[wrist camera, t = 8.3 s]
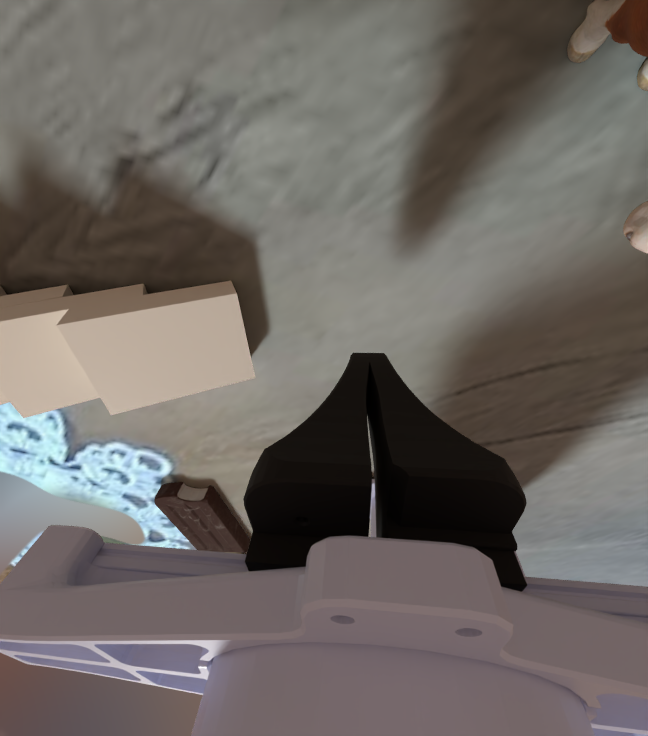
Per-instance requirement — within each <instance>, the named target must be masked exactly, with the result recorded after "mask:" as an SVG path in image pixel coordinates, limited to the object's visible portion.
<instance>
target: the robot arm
mask: <svg viewBox="0 0 648 736" xmlns="http://www.w3.org/2000/svg"><path fill="white" fill-rule="evenodd" d="M367 415H368V423H369V430H370V438H371V445H372V453H373V461H374V476H375V479H372V471H371V459H370V449H369V439H368V426H367ZM244 506H245V509H246V512H247V515H248V518H249V521H250V523H251V526H252V529H253V533H252V537H251V541H250V544H249V548H248V551H247V554H238V553H225V552H213V551H201V550H188V549H176V548H164V547H151V546H139V545H127V544H114V543H104V542H103V539H102V538H101V536H100V535H99V534H98V533H96V532H95V531H93V530H91V529H88V528H84V527H74V526H61V525H51V526H48V528H47V529H46V530H45V531H44V532H43V534H42V535H41V536H40V537H39V538H38V539H37V541H36V542H35V543H34V544H33V545H32V547H31V548H30V549H29V550H28V551H27V553H26V554H25V555H24V556H23V557H22V559H21V560H20V561H19V562H18V563H17V565H16V566H15V567H14V568H13V569H12V570H11V572H10V573H9V574H8V575H7V576H6V578H5V579H4V580H3V581H2V582H1V584H0V652H1V653H3V654H5V655H8V656H10V657H12V658H14V659H17V660H19V661H21V662H24V663H26V664H31V665H38V666H46V667H53V668H60V669H66V670H72V671H78V672H85V673H90V674H96V675H101V676H107V677H112V678H118V679H123V680H128V681H133V682H138V683H144V684H149V685H154V686H160V687H165V688H170V689H175V690H181V691H185V692H191V693H196V694H201V695H203V696H202V700H201V703H200V707H199V710H198V714H197V717H196V720H195V724H194V727H193V731H192V734H191V736H648V587H644V586H632V585H619V584H607V583H595V582H582V581H570V580H558V579H545V578H533V577H525V574H524V572H523V569H522V566H521V564H520V561H519V559H518V556H517V554H516V550H517V543H516V541H515V539H514V536H513V534H512V530H513V529H514V527H515V525H516V524H517V522H518V520H519V519H520V517H521V515H522V513H523V512H524V509H525V506H526V498H525V494H524V492H523V490H522V488H521V486H520V484H519V482H518V480H517V479H516V477H515V475H514V473H513V472H512V470H511V469H510V467H509V466H508V464H507V463H506V461H505V459H504V458H502V457H500V456H498V455H496V454H494V453H492V452H491V451H489V450H487V449H485V448H483V447H481V446H480V445H478V444H476V443H474V442H473V441H471V440H470V439H468V438H466V437H465V436H463V435H462V434H460V433H459V432H457V431H456V430H454V429H453V428H451V427H450V426H449V425H447V424H446V423H445V422H443V421H442V420H441V419H440V418H438V417H437V416H436V415H435V414H433V413H432V412H431V411H430V410H429V409H428V408H427V407H426V406H425V405H424V404H423V403H422V402H421V401H420V400H419V399H418V398H417V397H416V396H415V395H414V394H413V393H412V392H411V390H410V389H409V388H408V387H407V386H406V384H405V383H404V382H403V380H402V379H401V378H400V376H399V375H398V374H397V372H396V371H395V369H394V368H393V366H392V365H391V363H390V361H389V360H388V358H387V356H386V355H385V354H384V353H353V354H352V355H351V357H350V360H349V363H348V365H347V367H346V369H345V371H344V373H343V375H342V377H341V378H340V380H339V382H338V383H337V385H336V386H335V388H334V389H333V390H332V392H331V393H330V395H329V396H328V397H327V398H326V400H325V401H324V402H323V403H322V404H321V405H320V407H319V408H318V409H317V410H316V411H315V412H314V413H313V414H312V415H311V416H310V417H309V418H308V419H307V420H305V421H304V422H303V423H302V424H301V425H299V426H298V427H297V428H296V429H294V430H293V431H292V432H291V433H289V434H288V435H287V436H285V437H284V438H282V439H281V440H279V441H277V442H276V443H274V444H273V445H271V446H269V447H268V448H266V449H265V450H264V451H263V453H262V455H261V456H260V458H259V460H258V462H257V464H256V466H255V468H254V470H253V472H252V475H251V477H250V480H249V484H248V487H247V490H246V493H245V496H244ZM370 520H371V537H368V534H369V521H370Z"/></svg>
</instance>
